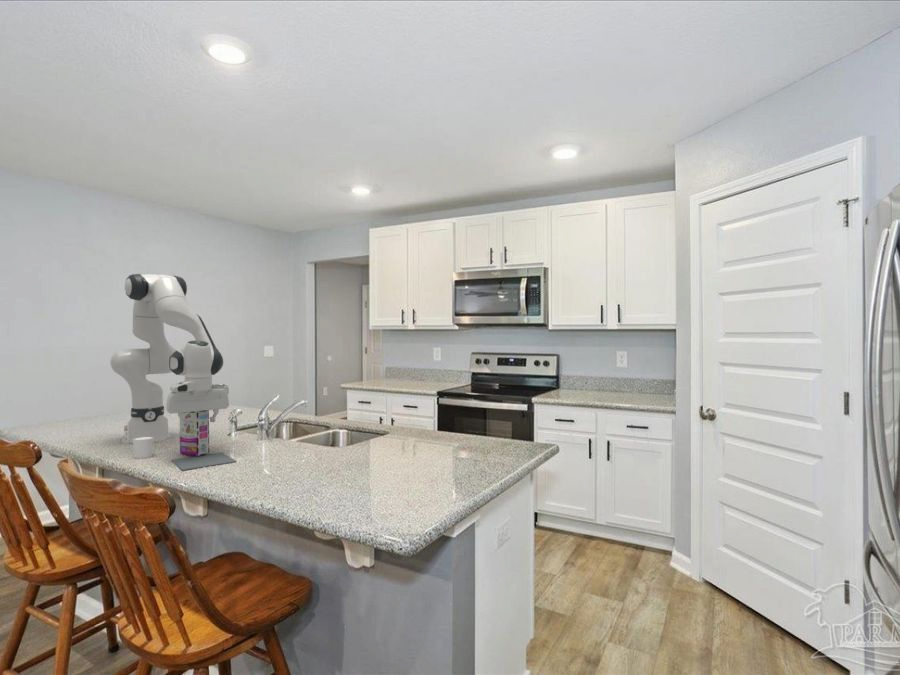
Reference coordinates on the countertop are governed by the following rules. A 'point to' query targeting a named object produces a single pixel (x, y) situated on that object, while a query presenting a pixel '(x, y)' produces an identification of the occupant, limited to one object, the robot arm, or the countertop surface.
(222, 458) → the mat
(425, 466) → the countertop surface
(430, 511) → the countertop surface
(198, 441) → the candy bar box
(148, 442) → the white cylinder
